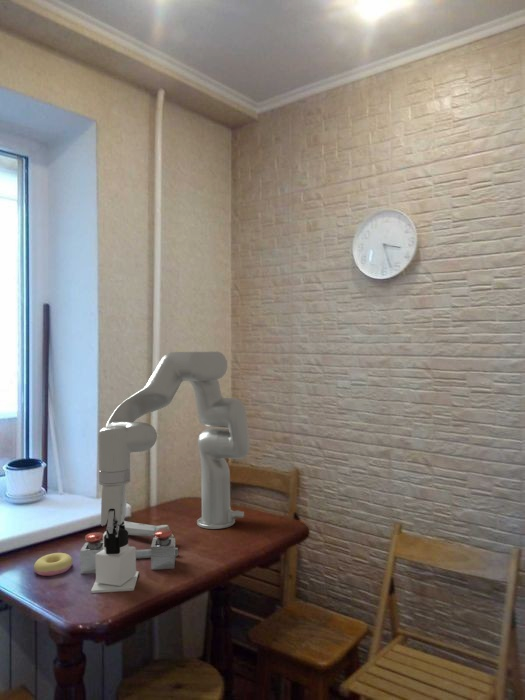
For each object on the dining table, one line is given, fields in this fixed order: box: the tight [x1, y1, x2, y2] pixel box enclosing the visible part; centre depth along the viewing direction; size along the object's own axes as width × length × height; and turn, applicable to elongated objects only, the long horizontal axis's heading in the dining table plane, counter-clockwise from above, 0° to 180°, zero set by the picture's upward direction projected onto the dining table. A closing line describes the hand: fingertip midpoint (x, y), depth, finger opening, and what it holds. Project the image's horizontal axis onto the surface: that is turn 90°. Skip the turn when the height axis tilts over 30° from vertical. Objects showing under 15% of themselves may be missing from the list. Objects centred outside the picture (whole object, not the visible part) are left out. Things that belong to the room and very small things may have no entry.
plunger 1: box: [84, 531, 104, 549], centre depth 142 cm, size 5×5×8 cm
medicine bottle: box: [95, 528, 137, 586], centre depth 133 cm, size 7×7×12 cm
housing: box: [79, 537, 179, 575], centre depth 145 cm, size 25×10×6 cm, turn 97°
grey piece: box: [124, 519, 175, 540], centre depth 164 cm, size 5×7×25 cm
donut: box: [33, 552, 73, 577], centre depth 142 cm, size 10×5×9 cm
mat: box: [90, 570, 139, 594], centre depth 133 cm, size 10×10×1 cm
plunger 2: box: [153, 529, 173, 545], centre depth 144 cm, size 5×5×8 cm
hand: (115, 546), depth 133 cm, fingers open, 7 cm apart
